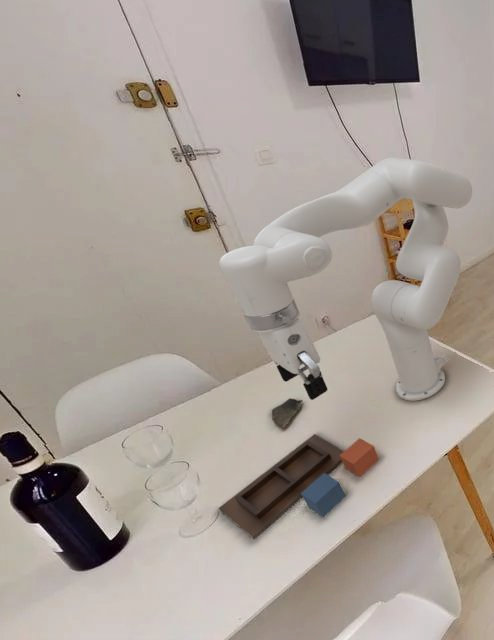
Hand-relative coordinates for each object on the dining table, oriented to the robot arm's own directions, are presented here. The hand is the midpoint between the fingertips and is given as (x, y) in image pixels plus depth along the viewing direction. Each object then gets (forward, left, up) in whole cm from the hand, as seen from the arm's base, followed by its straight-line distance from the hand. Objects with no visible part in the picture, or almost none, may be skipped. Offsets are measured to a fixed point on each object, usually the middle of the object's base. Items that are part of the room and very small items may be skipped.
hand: (305, 385), depth 81 cm
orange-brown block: (-1, +6, -22) cm, 22 cm away
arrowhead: (-2, -23, -22) cm, 31 cm away
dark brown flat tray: (+9, -4, -22) cm, 24 cm away
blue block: (+8, +7, -22) cm, 24 cm away
